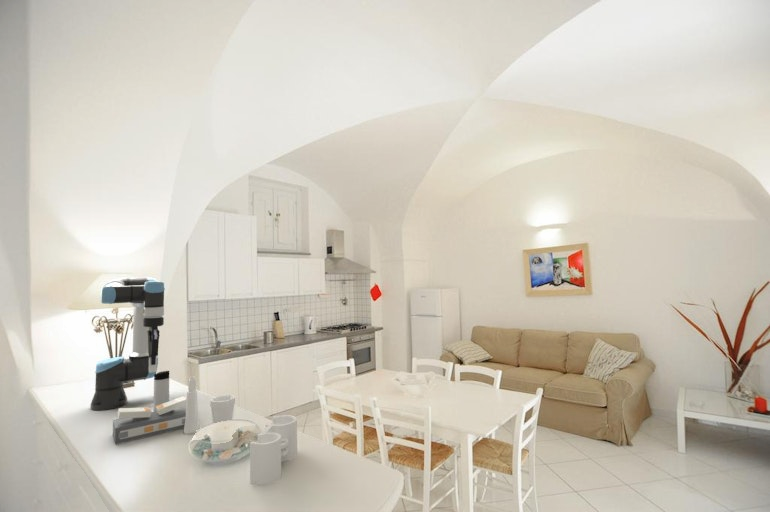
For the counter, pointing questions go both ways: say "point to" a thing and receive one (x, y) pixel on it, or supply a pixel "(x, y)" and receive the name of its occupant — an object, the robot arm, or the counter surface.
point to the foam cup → (222, 408)
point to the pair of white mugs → (273, 450)
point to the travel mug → (161, 388)
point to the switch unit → (148, 425)
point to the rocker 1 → (134, 412)
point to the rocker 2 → (171, 405)
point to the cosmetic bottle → (191, 408)
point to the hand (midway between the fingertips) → (152, 371)
